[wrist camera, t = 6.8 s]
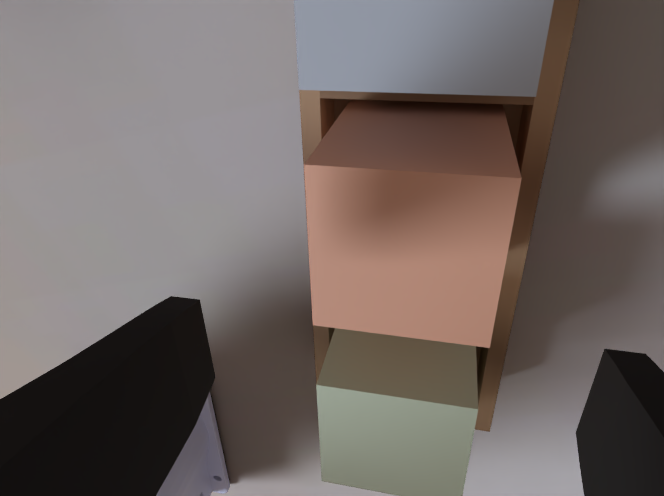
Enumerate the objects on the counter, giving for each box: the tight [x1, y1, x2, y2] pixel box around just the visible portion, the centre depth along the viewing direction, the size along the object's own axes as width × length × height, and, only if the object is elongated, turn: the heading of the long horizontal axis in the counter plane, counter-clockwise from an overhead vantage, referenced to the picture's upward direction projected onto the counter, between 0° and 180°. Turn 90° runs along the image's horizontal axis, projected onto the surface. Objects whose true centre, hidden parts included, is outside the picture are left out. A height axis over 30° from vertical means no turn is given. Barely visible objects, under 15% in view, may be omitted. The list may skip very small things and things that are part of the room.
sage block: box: [316, 328, 478, 496], centre depth 17 cm, size 4×4×6 cm
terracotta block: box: [304, 99, 522, 348], centre depth 14 cm, size 4×4×6 cm
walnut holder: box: [299, 0, 580, 432], centre depth 16 cm, size 20×7×3 cm, turn 2°
